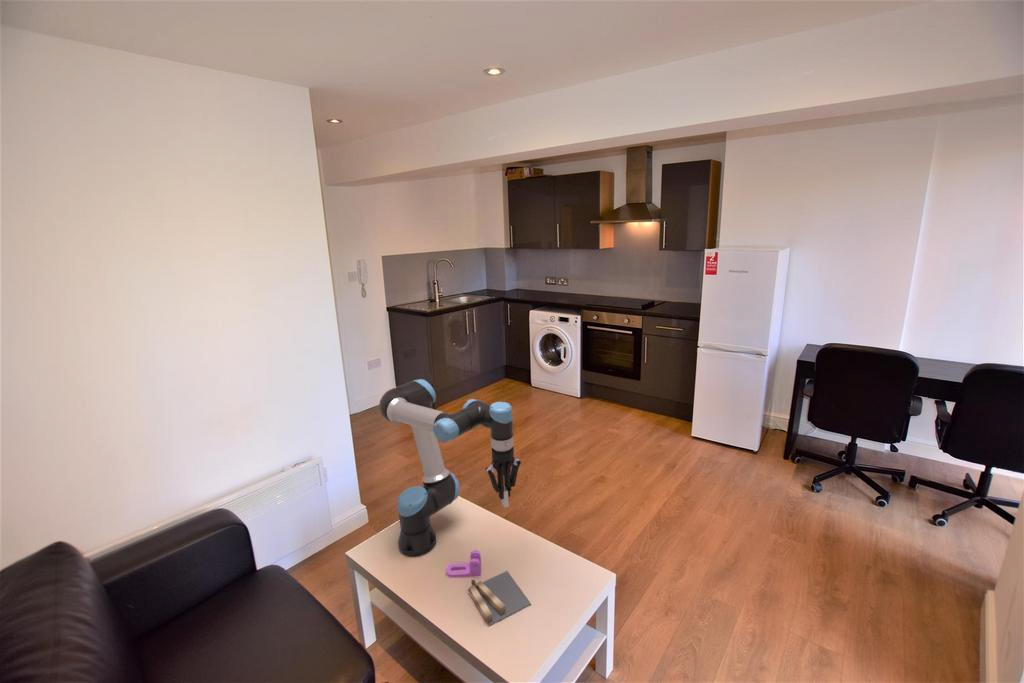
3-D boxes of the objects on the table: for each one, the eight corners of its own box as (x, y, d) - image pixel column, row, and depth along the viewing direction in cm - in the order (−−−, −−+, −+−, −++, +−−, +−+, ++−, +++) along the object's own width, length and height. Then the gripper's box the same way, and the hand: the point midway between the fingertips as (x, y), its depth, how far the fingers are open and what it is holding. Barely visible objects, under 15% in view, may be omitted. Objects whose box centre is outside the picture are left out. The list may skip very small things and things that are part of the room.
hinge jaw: (476, 589, 162) (475, 583, 161) (480, 586, 163) (480, 580, 162) (500, 614, 151) (500, 608, 151) (505, 611, 152) (505, 605, 152)
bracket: (481, 564, 174) (480, 549, 171) (480, 576, 168) (479, 561, 166) (446, 566, 173) (445, 551, 171) (445, 578, 168) (443, 562, 166)
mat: (467, 589, 162) (467, 589, 162) (507, 571, 170) (507, 570, 170) (489, 626, 148) (489, 625, 148) (531, 604, 155) (531, 603, 155)
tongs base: (467, 590, 162) (466, 582, 161) (475, 586, 163) (474, 579, 162) (486, 623, 149) (486, 615, 148) (495, 619, 150) (494, 611, 149)
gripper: (489, 457, 149) (493, 517, 156) (524, 446, 155) (526, 505, 162) (480, 446, 155) (483, 505, 163) (514, 436, 161) (516, 493, 168)
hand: (504, 505), depth 162 cm, fingers closed
